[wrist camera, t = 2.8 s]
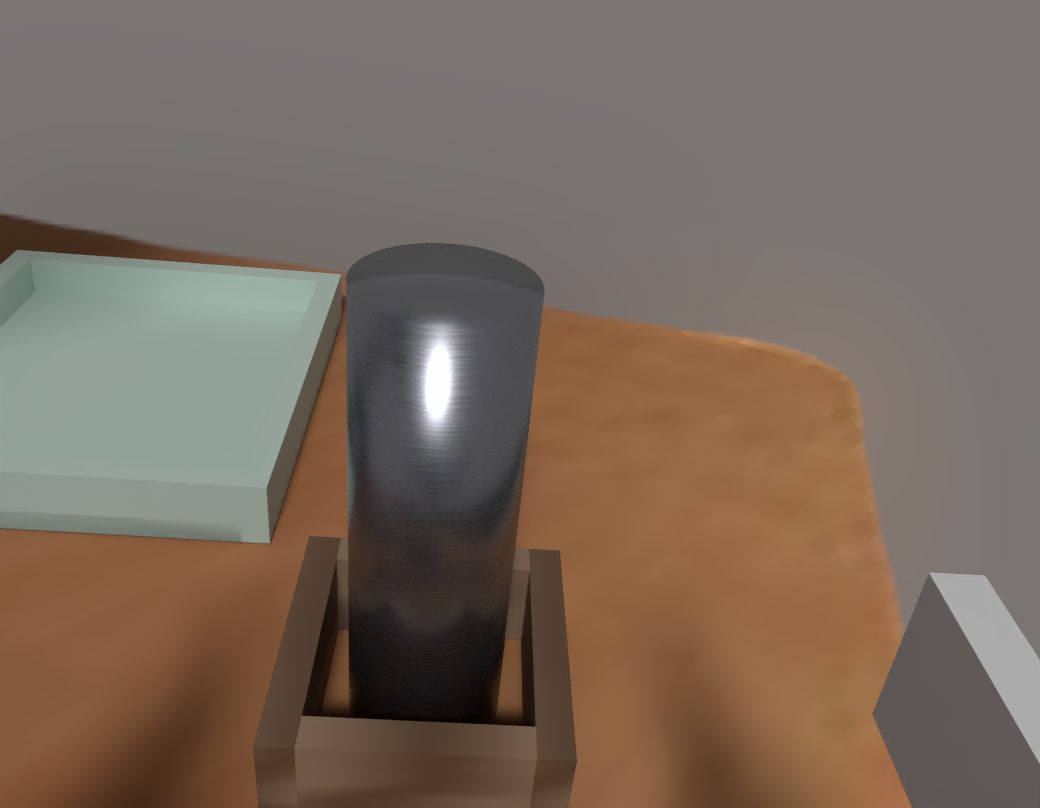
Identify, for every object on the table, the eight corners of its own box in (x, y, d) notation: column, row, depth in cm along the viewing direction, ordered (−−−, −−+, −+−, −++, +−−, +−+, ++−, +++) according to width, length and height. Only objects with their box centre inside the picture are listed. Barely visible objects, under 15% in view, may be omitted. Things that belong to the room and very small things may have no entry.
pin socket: (259, 822, 25) (253, 746, 23) (311, 605, 32) (309, 536, 30) (563, 834, 25) (576, 761, 24) (549, 618, 32) (559, 550, 30)
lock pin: (338, 766, 26) (332, 318, 19) (359, 649, 30) (359, 236, 23) (496, 773, 27) (548, 334, 19) (496, 656, 30) (540, 250, 23)
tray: (-194, 516, 33) (-217, 458, 32) (26, 295, 48) (17, 249, 47) (269, 543, 34) (266, 487, 33) (341, 318, 49) (341, 274, 48)
